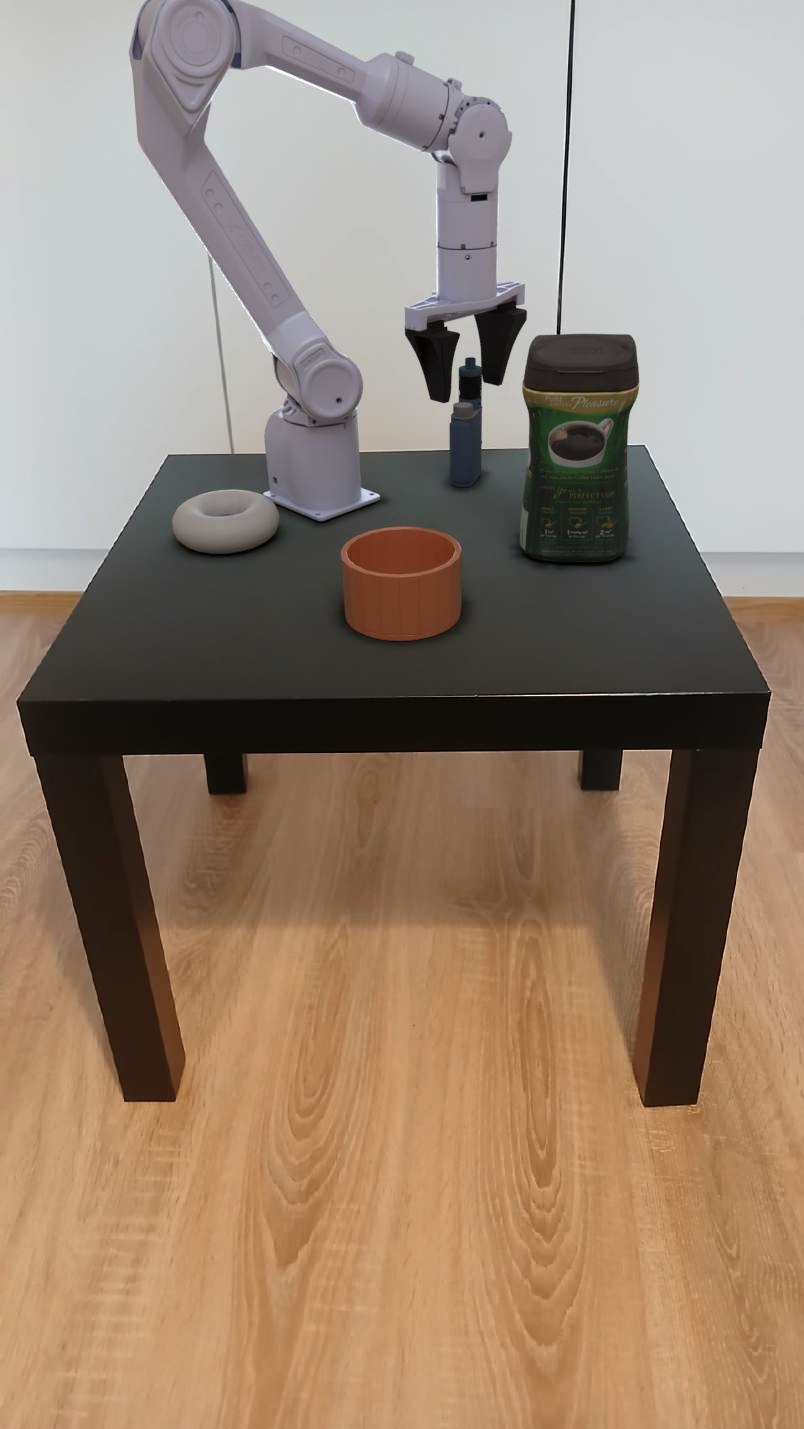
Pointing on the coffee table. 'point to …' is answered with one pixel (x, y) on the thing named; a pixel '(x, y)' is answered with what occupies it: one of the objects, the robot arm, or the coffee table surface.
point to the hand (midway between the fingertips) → (466, 391)
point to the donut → (225, 521)
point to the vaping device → (467, 427)
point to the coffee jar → (578, 446)
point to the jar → (402, 583)
